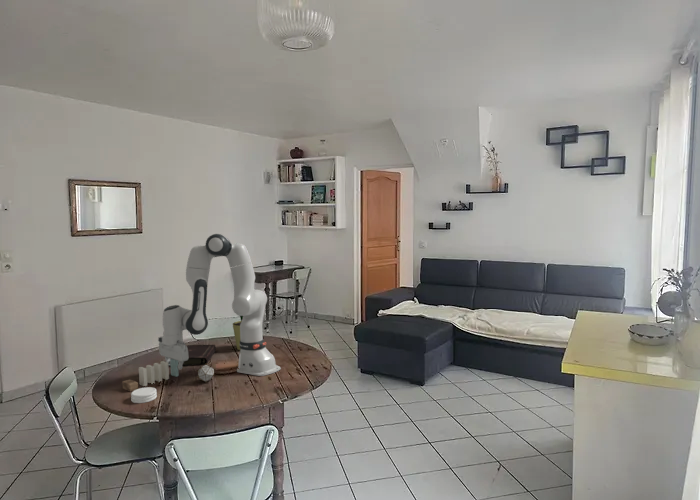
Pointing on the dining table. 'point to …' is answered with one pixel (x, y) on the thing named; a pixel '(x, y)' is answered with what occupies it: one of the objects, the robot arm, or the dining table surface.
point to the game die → (205, 373)
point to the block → (130, 385)
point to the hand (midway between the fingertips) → (174, 367)
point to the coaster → (143, 395)
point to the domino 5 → (174, 367)
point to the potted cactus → (237, 332)
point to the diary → (199, 354)
